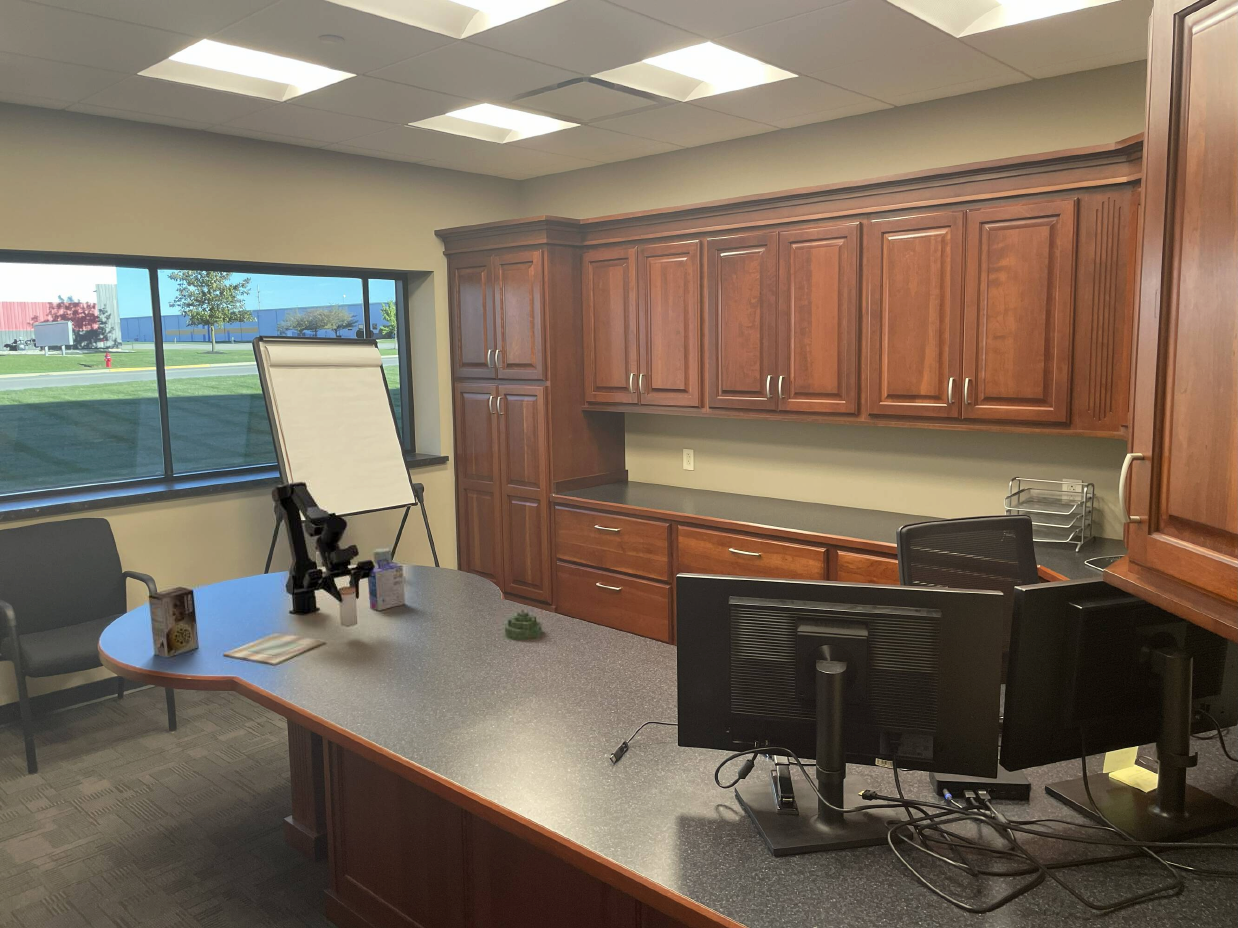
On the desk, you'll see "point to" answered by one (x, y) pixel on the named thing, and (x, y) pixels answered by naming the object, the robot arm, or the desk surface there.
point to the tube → (348, 606)
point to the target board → (274, 648)
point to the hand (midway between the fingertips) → (349, 599)
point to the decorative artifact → (523, 627)
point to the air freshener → (382, 556)
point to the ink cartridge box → (386, 586)
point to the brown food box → (173, 621)
